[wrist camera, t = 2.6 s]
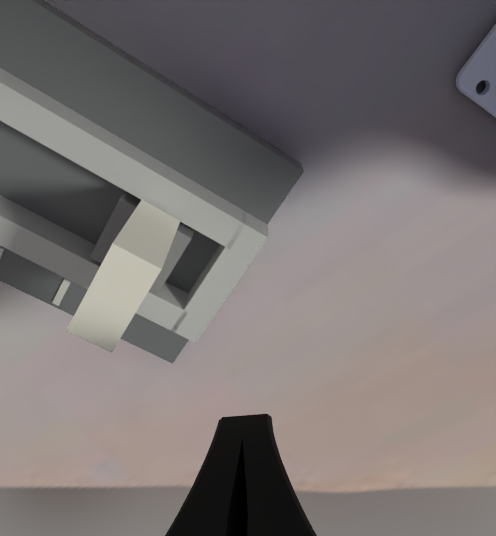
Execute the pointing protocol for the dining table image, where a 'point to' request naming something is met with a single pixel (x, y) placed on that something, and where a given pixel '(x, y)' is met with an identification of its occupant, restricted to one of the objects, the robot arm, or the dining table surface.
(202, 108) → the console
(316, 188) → the dining table surface
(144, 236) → the fader
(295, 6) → the dining table surface
